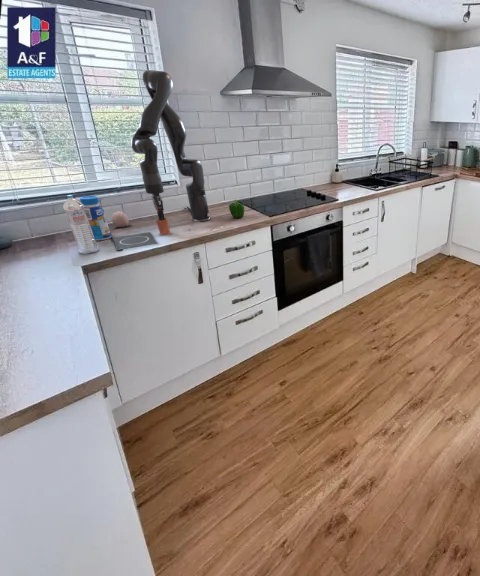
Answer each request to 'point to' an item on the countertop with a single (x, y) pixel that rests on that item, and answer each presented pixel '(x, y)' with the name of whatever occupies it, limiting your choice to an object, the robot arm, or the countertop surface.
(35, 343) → the countertop surface
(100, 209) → the blue lidded canister
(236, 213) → the bell pepper
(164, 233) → the pen pot
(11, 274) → the countertop surface
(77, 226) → the water bottle
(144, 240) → the slate board
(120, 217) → the egg
